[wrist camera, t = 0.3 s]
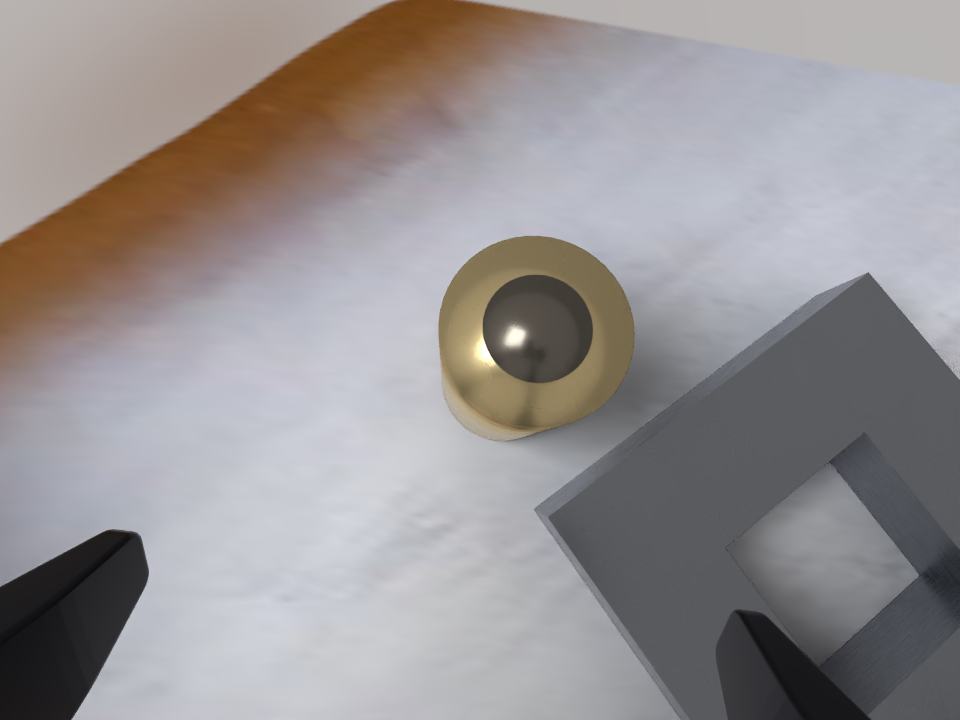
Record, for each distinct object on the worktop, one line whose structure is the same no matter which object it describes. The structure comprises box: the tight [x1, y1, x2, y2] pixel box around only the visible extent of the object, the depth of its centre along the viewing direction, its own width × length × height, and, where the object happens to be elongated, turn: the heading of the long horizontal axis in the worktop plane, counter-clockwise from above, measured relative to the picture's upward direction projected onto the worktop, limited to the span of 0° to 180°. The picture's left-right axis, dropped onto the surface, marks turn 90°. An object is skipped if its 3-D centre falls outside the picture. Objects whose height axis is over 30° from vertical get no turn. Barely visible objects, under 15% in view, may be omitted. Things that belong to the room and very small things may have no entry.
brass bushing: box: [439, 236, 634, 441], centre depth 18 cm, size 5×5×9 cm
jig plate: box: [534, 272, 960, 720], centre depth 20 cm, size 16×16×3 cm
